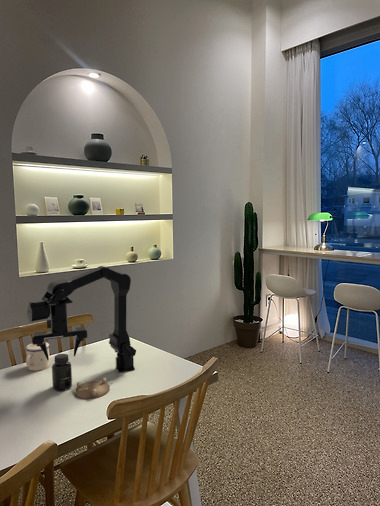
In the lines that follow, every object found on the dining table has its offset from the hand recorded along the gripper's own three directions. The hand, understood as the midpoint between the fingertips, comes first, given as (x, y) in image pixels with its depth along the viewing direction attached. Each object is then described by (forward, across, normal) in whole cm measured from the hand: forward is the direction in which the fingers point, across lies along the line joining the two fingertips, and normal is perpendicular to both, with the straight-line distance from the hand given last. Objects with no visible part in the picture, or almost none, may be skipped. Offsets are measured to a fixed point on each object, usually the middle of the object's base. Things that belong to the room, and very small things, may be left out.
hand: (61, 357), depth 143 cm
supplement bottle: (+11, 0, 0) cm, 11 cm away
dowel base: (+11, -10, +7) cm, 17 cm away
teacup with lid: (+11, +9, -22) cm, 26 cm away
